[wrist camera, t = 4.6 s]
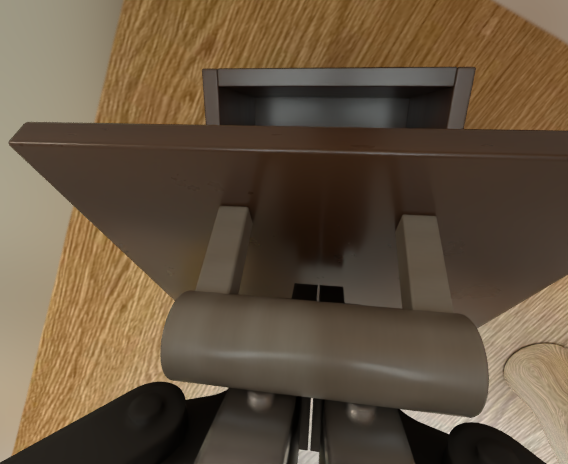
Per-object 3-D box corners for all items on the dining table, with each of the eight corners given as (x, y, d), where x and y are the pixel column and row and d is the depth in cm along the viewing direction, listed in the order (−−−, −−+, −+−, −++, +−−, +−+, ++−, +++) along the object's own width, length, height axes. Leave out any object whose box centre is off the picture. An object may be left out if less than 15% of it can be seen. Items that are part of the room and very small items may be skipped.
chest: (246, 86, 23) (201, 68, 15) (420, 86, 22) (477, 66, 13) (251, 270, 29) (220, 331, 20) (390, 281, 27) (418, 351, 19)
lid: (24, 120, 6) (-157, 327, 4) (729, 131, 5) (1065, 473, 3) (219, 330, 20) (203, 404, 18) (419, 350, 19) (428, 434, 16)
